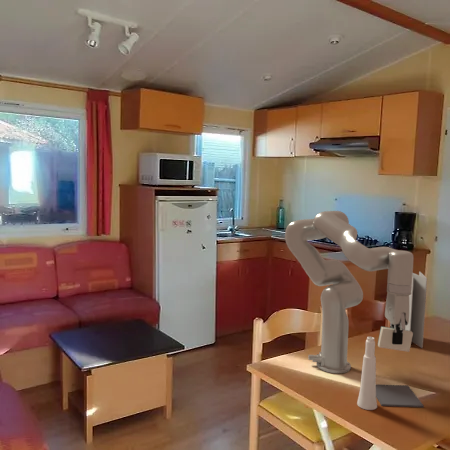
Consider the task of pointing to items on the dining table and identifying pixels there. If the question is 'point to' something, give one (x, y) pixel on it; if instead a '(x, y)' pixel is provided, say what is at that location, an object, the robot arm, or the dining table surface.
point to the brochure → (417, 308)
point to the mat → (397, 396)
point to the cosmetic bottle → (368, 378)
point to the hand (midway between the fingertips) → (395, 342)
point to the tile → (386, 339)
